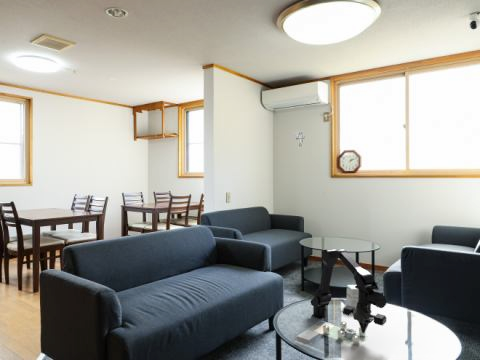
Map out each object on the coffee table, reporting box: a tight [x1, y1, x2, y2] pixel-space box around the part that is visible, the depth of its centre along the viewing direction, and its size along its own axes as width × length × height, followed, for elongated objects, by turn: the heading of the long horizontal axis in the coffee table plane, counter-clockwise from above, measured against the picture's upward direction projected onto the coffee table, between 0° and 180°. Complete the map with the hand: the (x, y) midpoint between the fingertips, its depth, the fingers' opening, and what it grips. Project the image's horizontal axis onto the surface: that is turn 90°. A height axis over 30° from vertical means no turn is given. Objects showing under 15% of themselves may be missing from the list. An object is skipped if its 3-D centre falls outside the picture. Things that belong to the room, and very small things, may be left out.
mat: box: [313, 322, 368, 346], centre depth 167 cm, size 22×13×1 cm, turn 50°
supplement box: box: [345, 284, 358, 308], centre depth 202 cm, size 7×7×13 cm
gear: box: [344, 328, 357, 340], centre depth 164 cm, size 6×6×3 cm
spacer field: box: [323, 321, 366, 347], centre depth 166 cm, size 18×13×4 cm
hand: (363, 332), depth 160 cm, fingers closed
